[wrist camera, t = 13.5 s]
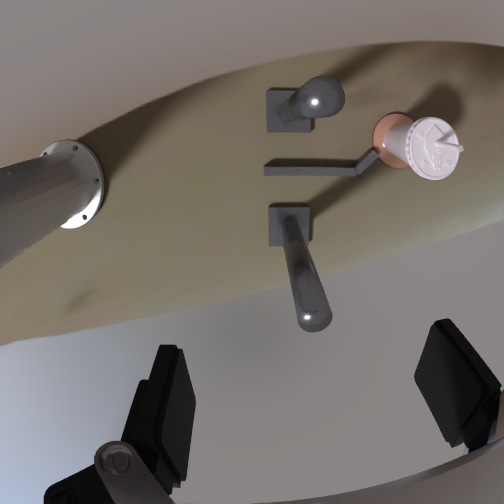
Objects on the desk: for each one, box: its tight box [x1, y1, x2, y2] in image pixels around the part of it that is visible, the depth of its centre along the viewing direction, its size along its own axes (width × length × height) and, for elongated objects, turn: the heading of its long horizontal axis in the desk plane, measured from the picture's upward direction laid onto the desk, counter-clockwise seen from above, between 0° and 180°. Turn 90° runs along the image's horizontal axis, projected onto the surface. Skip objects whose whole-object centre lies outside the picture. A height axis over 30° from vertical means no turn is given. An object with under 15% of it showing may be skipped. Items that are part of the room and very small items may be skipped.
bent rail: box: [264, 149, 379, 177], centre depth 35 cm, size 14×3×2 cm, turn 92°
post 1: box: [266, 76, 345, 133], centre depth 24 cm, size 5×5×20 cm
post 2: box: [269, 206, 332, 332], centre depth 30 cm, size 5×5×20 cm
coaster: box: [372, 114, 414, 168], centre depth 34 cm, size 7×7×1 cm
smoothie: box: [384, 117, 463, 180], centre depth 27 cm, size 6×6×14 cm
